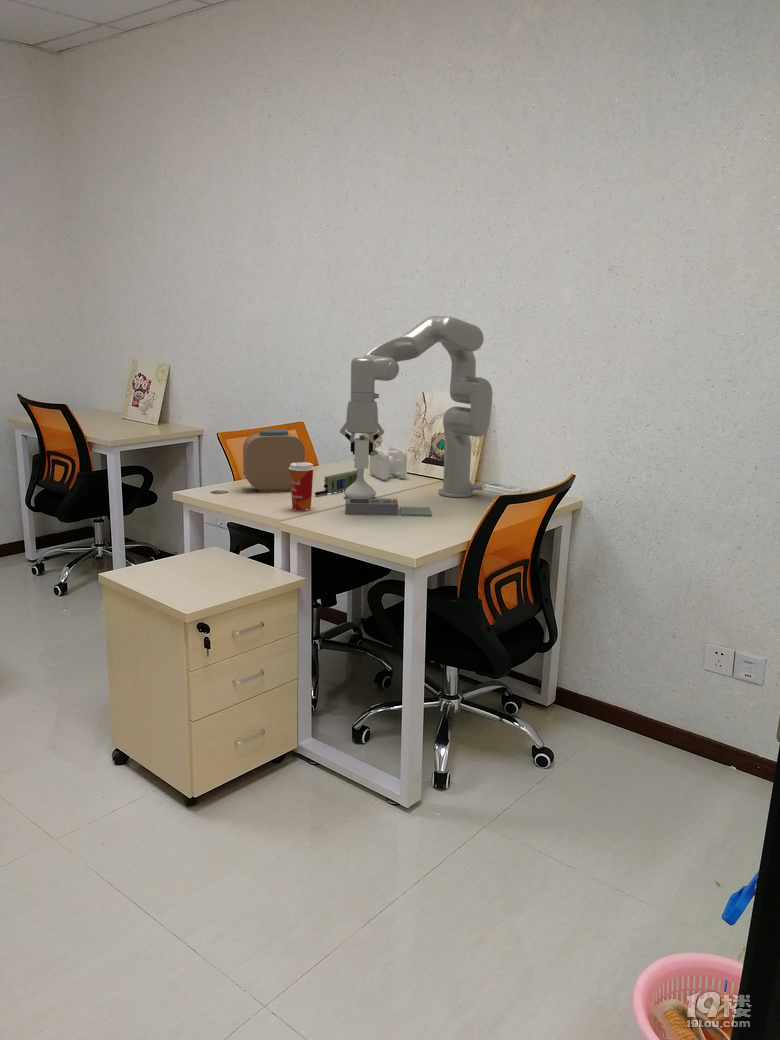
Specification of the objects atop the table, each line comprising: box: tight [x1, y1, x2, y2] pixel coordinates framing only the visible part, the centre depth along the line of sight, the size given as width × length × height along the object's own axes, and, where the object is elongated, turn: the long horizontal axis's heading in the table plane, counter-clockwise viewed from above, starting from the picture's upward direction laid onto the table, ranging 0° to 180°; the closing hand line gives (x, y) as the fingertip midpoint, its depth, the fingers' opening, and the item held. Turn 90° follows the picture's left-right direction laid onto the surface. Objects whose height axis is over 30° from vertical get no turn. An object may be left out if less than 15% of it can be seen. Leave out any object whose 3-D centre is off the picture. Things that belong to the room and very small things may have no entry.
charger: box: [353, 434, 370, 469], centre depth 268 cm, size 4×4×10 cm
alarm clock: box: [242, 429, 306, 493], centre depth 299 cm, size 21×10×22 cm, turn 108°
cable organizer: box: [369, 445, 408, 481], centre depth 327 cm, size 15×11×12 cm
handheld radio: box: [314, 469, 357, 496], centre depth 301 cm, size 7×3×25 cm
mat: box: [399, 506, 433, 517], centre depth 273 cm, size 10×10×1 cm
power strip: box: [344, 497, 399, 516], centre depth 272 cm, size 17×8×4 cm, turn 92°
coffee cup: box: [289, 461, 315, 511], centre depth 272 cm, size 8×8×15 cm
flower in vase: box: [343, 430, 383, 499], centre depth 289 cm, size 13×11×25 cm
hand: (361, 453), depth 268 cm, fingers closed on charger, 4 cm apart
